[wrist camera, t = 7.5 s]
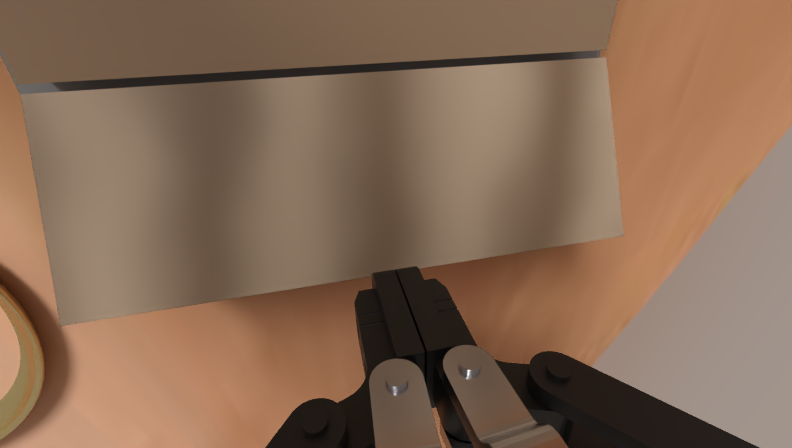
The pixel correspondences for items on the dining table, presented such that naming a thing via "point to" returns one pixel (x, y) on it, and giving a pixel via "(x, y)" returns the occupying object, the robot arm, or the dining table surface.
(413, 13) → the panel
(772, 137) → the dining table surface
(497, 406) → the robot arm
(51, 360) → the dining table surface
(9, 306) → the serving platter
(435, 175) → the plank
